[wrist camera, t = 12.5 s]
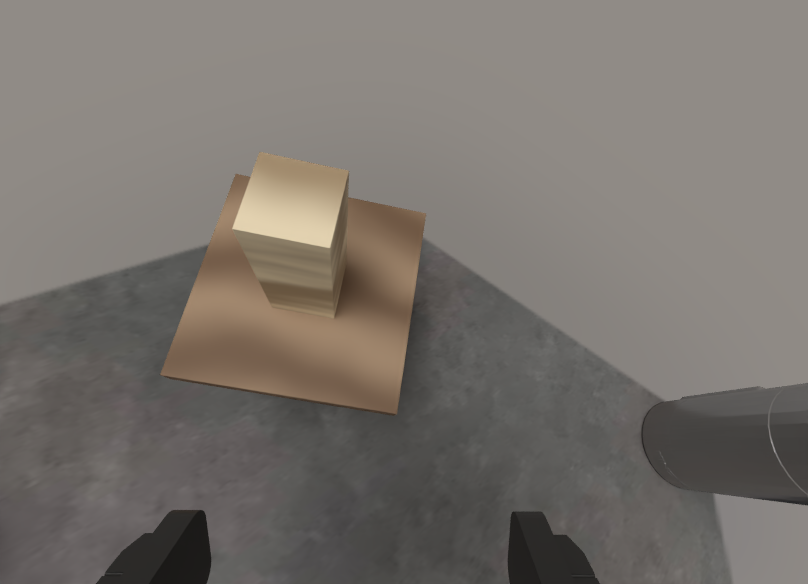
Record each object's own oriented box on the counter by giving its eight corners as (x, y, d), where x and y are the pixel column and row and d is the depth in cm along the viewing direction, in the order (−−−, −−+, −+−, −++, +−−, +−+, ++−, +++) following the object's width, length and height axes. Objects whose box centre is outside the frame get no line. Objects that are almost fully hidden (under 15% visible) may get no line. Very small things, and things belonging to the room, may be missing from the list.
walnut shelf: (374, 426, 40) (396, 414, 24) (235, 403, 39) (160, 375, 23) (396, 295, 46) (425, 213, 30) (274, 272, 45) (235, 173, 28)
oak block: (334, 318, 26) (329, 248, 16) (271, 307, 25) (232, 229, 16) (346, 263, 27) (348, 170, 18) (287, 252, 27) (259, 151, 18)
